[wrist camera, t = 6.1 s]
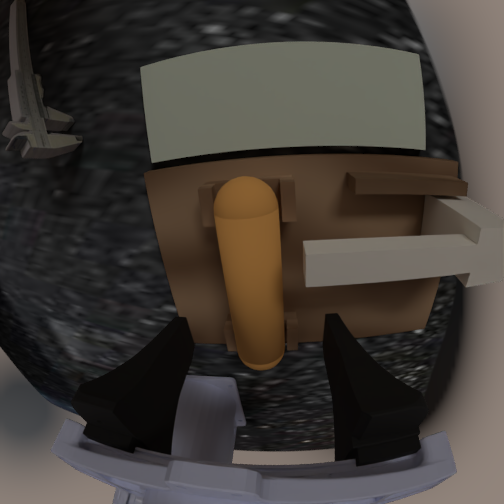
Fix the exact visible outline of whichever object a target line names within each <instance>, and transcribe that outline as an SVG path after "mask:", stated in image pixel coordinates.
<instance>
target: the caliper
mask: <svg viewBox="0 0 504 504" xmlns="http://www.w3.org/2000/svg"><path fill="white" fill-rule="evenodd" d="M9 50H10V67H11V76H10V78H9V79H8V91H9V100H10V107H11V114H12V120H13V121H9V123H8V125H7V126H6V128H5V130H4V132H3V133H2V134H3V135H4V136H6V137H8V138H10V139H11V141H10V142H9V144H8V146H7V147H6V150H5V151H15V150H20V151H21V155H22V158H46V159H48V158H51V157H55V156H58V155H62V154H65V153H69V152H72V151H74V150H75V149H76V148H77V147H78V146H79V145H80V144H81V143H82V140H83V138H82V136H75V135H66V134H58V133H48V132H47V130H53V131H61V130H63V131H67V130H68V129H69V128H70V127H71V126H72V125H73V124H74V123H75V121H74V119H73V117H72V116H69V115H67V114H65V113H62V112H60V111H57V110H55V109H52V108H50V107H48V106H45V105H44V103H43V98H44V90H45V89H44V86H43V85H42V76H41V75H40V74H36V73H34V72H33V67H32V61H31V54H30V47H29V38H28V27H27V7H26V3H25V0H15V1H14V2H13V3H12V5H11V6H10V20H9Z"/></svg>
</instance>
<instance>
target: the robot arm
mask: <svg viewBox="0 0 504 504" xmlns="http://www.w3.org/2000/svg"><path fill="white" fill-rule="evenodd" d="M194 345H195V343H194V340H193V337H192V334H191V331H190V328H189V324H188V321H187V318H186V317H175V318H174V319H173V320H172V321H171V322H170V323H169V324H168V325H167V326H166V327H165V328H164V329H163V330H162V331H161V332H160V333H159V334H158V335H157V336H156V337H155V338H154V339H153V340H152V341H151V342H150V343H149V344H148V345H147V346H145V347H144V348H143V349H142V350H141V351H140V352H139V353H137V354H136V355H135V356H134V357H132V358H131V359H129V360H128V361H127V362H125V363H124V364H122V365H121V366H119V367H117V368H116V369H114V370H112V371H111V372H109V373H107V374H105V375H103V376H101V377H99V378H96V379H94V380H92V381H89V382H86V383H84V384H81V385H80V386H79V388H78V390H77V392H76V393H75V395H74V397H73V399H72V401H71V404H72V406H73V408H74V409H75V410H76V412H77V413H78V414H79V415H80V416H81V417H82V418H83V419H84V420H85V421H86V422H87V424H86V426H83V425H82V424H80V423H77V422H75V421H73V420H70V419H66V420H65V422H64V424H63V426H62V428H61V430H60V432H59V434H58V436H57V438H56V440H55V442H54V444H53V446H52V448H51V452H52V453H54V454H55V455H56V456H58V457H59V458H60V459H62V460H63V461H65V462H66V463H67V464H69V465H70V466H72V467H73V468H75V469H76V470H78V471H80V472H82V473H84V474H86V475H89V476H91V477H93V478H95V479H97V480H99V481H102V482H104V483H106V484H108V485H111V486H113V487H116V491H115V495H114V499H113V504H385V503H389V502H392V501H395V500H399V499H402V498H405V497H408V496H411V495H414V494H417V493H420V492H423V491H426V490H428V489H431V488H433V487H435V486H437V485H438V484H440V483H442V482H443V481H445V480H446V479H448V478H449V477H451V476H452V475H454V474H455V473H456V472H457V470H456V466H455V462H454V458H453V454H452V451H451V447H450V444H449V441H448V437H447V435H446V431H441V432H439V433H436V434H433V435H430V436H427V437H424V438H422V439H421V440H419V437H418V435H419V434H420V430H419V425H420V424H421V422H422V421H423V420H424V418H425V417H426V415H427V414H428V407H427V404H426V401H425V399H424V397H423V395H422V393H421V392H419V391H418V390H416V389H414V388H412V387H410V386H408V385H406V384H405V383H403V382H402V381H400V380H398V379H397V378H395V377H394V376H393V375H391V374H390V373H389V372H388V371H386V370H385V369H384V368H383V367H381V366H380V365H379V364H378V363H377V362H376V361H375V360H374V359H373V358H372V357H371V356H370V355H369V354H368V353H367V352H366V351H365V350H364V349H363V347H362V346H361V345H360V344H359V343H358V341H357V340H356V339H355V338H354V336H353V335H352V334H351V332H350V331H349V329H348V328H347V327H346V325H345V324H344V322H343V321H342V319H341V317H340V316H339V314H338V313H330V314H325V322H324V333H323V352H324V360H325V365H326V370H327V375H328V379H329V384H330V389H331V394H332V401H333V414H334V433H335V462H326V463H316V464H300V465H247V464H232V459H233V451H234V444H235V437H236V430H237V426H245V425H246V420H245V416H244V412H243V408H242V404H241V400H240V396H239V392H238V388H237V384H236V380H235V379H234V378H232V377H213V376H197V375H187V373H188V370H189V367H190V364H191V361H192V356H193V351H194Z"/></svg>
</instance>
